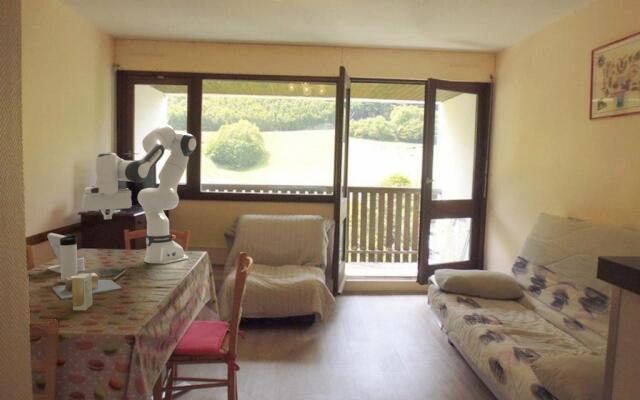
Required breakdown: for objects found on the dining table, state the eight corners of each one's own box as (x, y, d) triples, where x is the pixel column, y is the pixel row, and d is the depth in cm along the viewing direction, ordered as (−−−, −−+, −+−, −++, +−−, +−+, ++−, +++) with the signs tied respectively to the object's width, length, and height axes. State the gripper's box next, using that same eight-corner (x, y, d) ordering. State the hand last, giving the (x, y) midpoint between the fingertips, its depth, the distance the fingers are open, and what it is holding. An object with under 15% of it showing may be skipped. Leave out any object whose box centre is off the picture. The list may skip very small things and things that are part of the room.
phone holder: (86, 270, 202) (86, 233, 200) (65, 275, 194) (64, 236, 192) (67, 264, 211) (66, 229, 209) (46, 268, 203) (44, 232, 201)
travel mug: (81, 280, 186) (80, 236, 184) (68, 284, 180) (67, 238, 178) (71, 278, 188) (69, 234, 187) (57, 282, 182) (56, 237, 180)
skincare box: (80, 304, 156) (80, 272, 155) (92, 304, 157) (92, 272, 155) (72, 310, 150) (71, 277, 149) (84, 310, 150) (83, 277, 149)
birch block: (94, 272, 178) (64, 277, 171) (97, 275, 175) (67, 280, 167) (94, 284, 179) (65, 289, 171) (97, 287, 175) (68, 292, 168)
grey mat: (108, 279, 189) (108, 277, 189) (121, 289, 176) (121, 287, 176) (51, 288, 174) (51, 286, 174) (61, 299, 161) (61, 298, 161)
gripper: (128, 187, 197) (129, 216, 198) (80, 188, 183) (81, 219, 184) (133, 188, 192) (133, 218, 194) (84, 189, 179) (84, 221, 180)
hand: (107, 219), depth 189 cm, fingers closed
